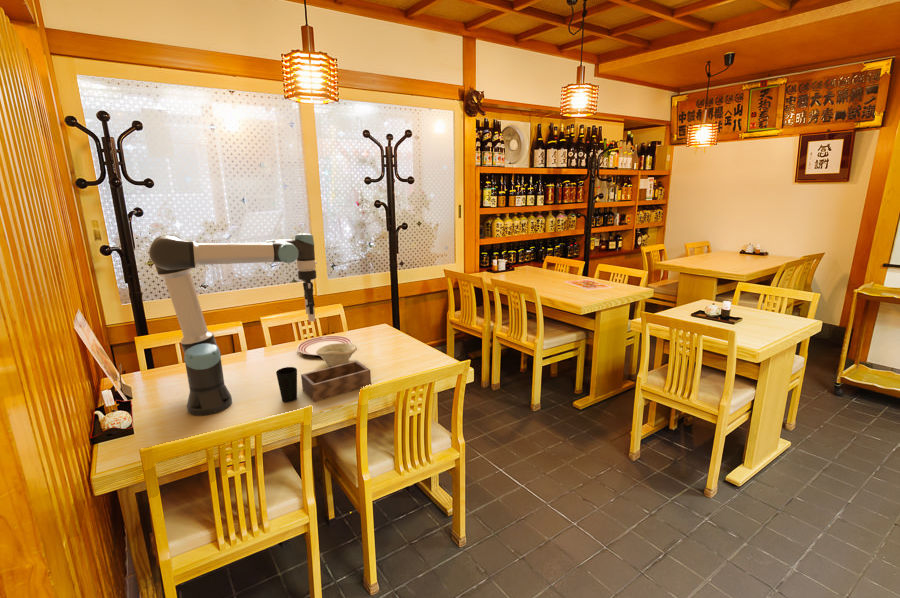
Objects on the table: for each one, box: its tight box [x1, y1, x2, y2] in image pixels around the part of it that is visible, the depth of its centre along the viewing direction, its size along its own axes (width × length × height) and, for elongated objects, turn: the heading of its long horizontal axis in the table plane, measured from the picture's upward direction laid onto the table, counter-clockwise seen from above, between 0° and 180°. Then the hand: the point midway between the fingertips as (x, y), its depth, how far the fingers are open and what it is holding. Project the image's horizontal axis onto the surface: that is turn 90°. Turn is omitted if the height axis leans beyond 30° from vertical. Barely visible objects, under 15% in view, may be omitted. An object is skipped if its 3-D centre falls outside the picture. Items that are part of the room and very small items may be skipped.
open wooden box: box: [300, 360, 372, 403], centre depth 184 cm, size 24×13×7 cm, turn 127°
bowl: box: [316, 343, 358, 367], centre depth 210 cm, size 14×18×15 cm
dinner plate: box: [296, 335, 353, 357], centre depth 230 cm, size 27×27×3 cm
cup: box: [275, 366, 298, 403], centre depth 174 cm, size 8×8×12 cm
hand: (310, 317), depth 197 cm, fingers open, 13 cm apart
